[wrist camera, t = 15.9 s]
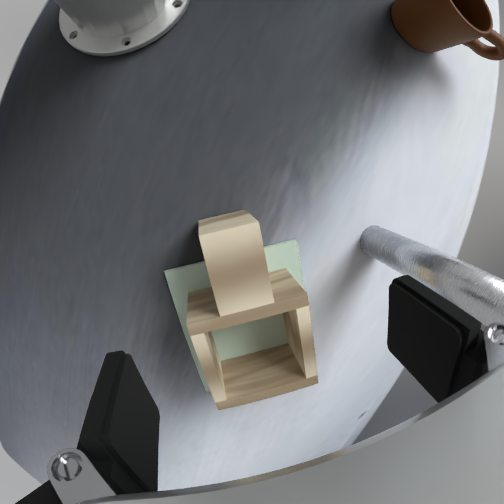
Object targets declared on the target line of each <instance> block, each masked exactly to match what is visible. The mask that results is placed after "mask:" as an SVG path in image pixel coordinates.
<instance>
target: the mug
mask: <svg viewBox="0 0 504 504" xmlns="http://www.w3.org/2000/svg"><path fill="white" fill-rule="evenodd" d="M391 16H392V20H393V23H394V25H395V27H396V29H397V31H398V32H399V34H400V35H401V36H402V37H403V38H404V40H405V41H406V42H407V43H409V44H410V45H411V46H413V47H414V48H416V49H418V50H420V51H423V52H427V53H431V52H437V51H440V50H443V49H446V48H449V47H453V46H456V45H459V44H463V45H465V46H468V47H469V48H471V49H472V50H473V51H474V52H475V53H477V54H478V55H480V56H482V57H484V58H487V59H490V60H502V59H504V38H503V37H502V36H501V35H500V34H498V33H497V32H496V31H494V30H493V29H492V27H493V22H492V17H491V13H490V11H489V8H488V6H487V4H486V2H485V0H395V1H394V3H393V5H392V8H391ZM480 37H483V38H485V39H486V40H488V41H489V42H491V43H492V44H494V45H495V46H496V47H491V46H487V45H485V44H483V43H482V42H480V41H479V40H478V38H480Z"/></svg>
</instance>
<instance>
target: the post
mask: <svg viewBox="0 0 504 504" xmlns="http://www.w3.org/2000/svg"><path fill="white" fill-rule="evenodd" d="M360 244H361V248H362V250H363V251H364V252H365V253H366V254H368V255H370V256H371V257H373V258H375V259H377V260H378V261H380V262H382V263H384V264H385V265H387V266H389V267H391V268H392V269H394V270H396V271H398V272H399V273H401V274H403V275H409V276H411V277H413V278H414V279H416V280H417V281H419V282H421V283H422V284H424V285H425V286H427V287H429V288H430V289H432V290H433V291H435V292H436V293H438V294H439V295H441V296H443V297H444V298H446V299H447V300H449V301H450V302H452V303H453V304H455V305H456V306H458V307H459V308H461V309H462V310H464V311H465V312H467V313H468V314H470V315H471V316H473V317H474V318H476V319H477V320H478V321H480V322H481V323H482V324H484V325H485V326H488V325H489V324H492V323H496V322H503V323H504V280H503V279H501V278H499V277H497V276H495V275H493V274H490V273H488V272H486V271H484V270H482V269H479V268H477V267H475V266H473V265H471V264H468V263H466V262H464V261H462V260H459V259H457V258H455V257H453V256H450V255H448V254H446V253H443V252H441V251H439V250H436V249H434V248H431V247H429V246H427V245H424V244H422V243H419V242H417V241H414V240H412V239H409V238H407V237H404V236H402V235H399V234H397V233H394V232H392V231H389V230H386V229H384V228H381V227H379V226H370V227H368V228H367V229H366V230H365V231H364V232H363V234H362V236H361V240H360Z"/></svg>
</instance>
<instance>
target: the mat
mask: <svg viewBox="0 0 504 504" xmlns="http://www.w3.org/2000/svg"><path fill="white" fill-rule="evenodd" d="M264 252H265V257H266V262H267V267H268V272H272V271H276V270H280V269H284V268H286V269H287V271H288V272H289V273H290V274H291V275H292V276H293V278H294V279H295V280H296V281H297V282H298V283H299V285H300V286H301V287H302V288H303V289H304V282H303V276H302V269H301V262H300V256H299V249H298V243H297V240H296V239H294V240H289V241H285V242H281V243H277V244H273V245H268V246H264ZM164 273H165V276H166V279H167V282H168V286H169V289H170V292H171V295H172V298H173V302H174V305H175V308H176V311H177V314H178V317H179V320H180V323H181V326H182V329H183V332H184V334H185V337H186V340H187V343H188V346H189V349H190V351H191V354H192V357H193V360H194V362H195V365H196V368H197V370H198V373H199V376H200V378H201V381H202V383H203V386H204V388H205V391H206V392H207V391H210V388H209V386H208V383H207V381H206V378H205V375H204V373H203V370H202V367H201V365H200V362H199V359H198V356H197V354H196V351H195V348H194V345H193V342H192V340H191V337H190V334H189V331H188V328H187V325H186V322H187V301H188V292H192V291H196V290H200V289H204V288H208V287H212V285H211V282H210V278H209V274H208V270H207V267H206V263H205V261H202V262H198V263H193V264H189V265H185V266H181V267H177V268H173V269H169V270H165V271H164ZM304 291H305V289H304ZM211 332H212V336H213V339H214V342H215V345H216V348H217V351H218V355H219V358H220V361H222V360H226V359H230V358H234V357H238V356H242V355H246V354H250V353H254V352H258V351H261V350H265V349H269V348H272V347H276V346H280V345H283V344H287V343H288V340H287V334H286V329H285V323H284V318H283V313H281V314H277V315H273V316H270V317H266V318H262V319H258V320H255V321H251V322H247V323H243V324H239V325H235V326H231V327H227V328H223V329H219V330H215V331H211Z"/></svg>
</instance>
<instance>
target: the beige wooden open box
mask: <svg viewBox="0 0 504 504" xmlns="http://www.w3.org/2000/svg"><path fill="white" fill-rule="evenodd" d="M199 239H200V243H201V247H202V251H203V255H204V259H205V263H206V267H207V270H208V274H209V278H210V282H211V285H212V287H208V288H204V289H200V290H196V291H192V292H188V301H187V322H186V325H187V328H188V331H189V334H190V337H191V340H192V342H193V345H194V348H195V351H196V354H197V356H198V359H199V362H200V365H201V367H202V370H203V373H204V375H205V378H206V381H207V383H208V386H209V388H210V391H211V393H212V396H213V398H214V401H215V403H216V406H217V408H218V410H221V409H226V408H231V407H235V406H239V405H243V404H247V403H251V402H255V401H259V400H263V399H267V398H271V397H274V396H278V395H281V394H285V393H288V392H291V391H295V390H298V389H301V388H304V387H308V386H311V385H314V384H317V383H318V376H317V367H316V358H315V349H314V341H313V333H312V326H311V318H310V310H309V303H308V296H307V293H306V292H305V291H304V289H303V288H302V287H301V286H300V285H299V283H298V282H297V281H296V280H295V279H294V278H293V276H292V275H291V274H290V273H289V272H288V271H287V269H286V268H284V269H280V270H276V271H272V272H268V267H267V262H266V257H265V252H264V247H263V242H262V237H261V232H260V227H259V222H258V221H257V220H256V219H255V218H254V217H253V216H252V215H251V214H250V213H248V212H247V211H246V210H241V211H236V212H232V213H228V214H223V215H219V216H215V217H211V218H207V219H203V220H199ZM281 313H283V318H284V323H285V329H286V334H287V340H288V343H287V344H283V345H280V346H276V347H272V348H269V349H265V350H261V351H258V352H254V353H250V354H246V355H242V356H238V357H234V358H230V359H226V360H222V361H220V358H219V355H218V351H217V348H216V345H215V342H214V339H213V336H212V332H211V331H215V330H219V329H223V328H227V327H231V326H235V325H239V324H243V323H247V322H251V321H255V320H258V319H262V318H266V317H270V316H273V315H277V314H281Z"/></svg>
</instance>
